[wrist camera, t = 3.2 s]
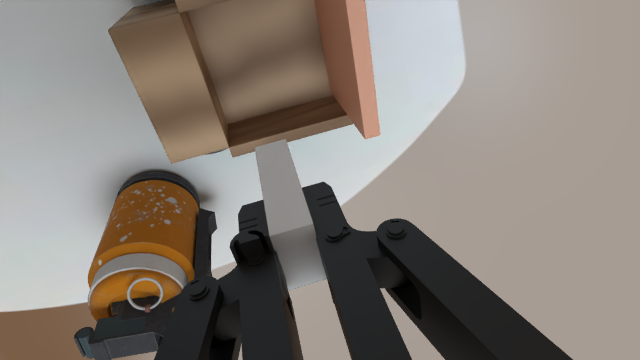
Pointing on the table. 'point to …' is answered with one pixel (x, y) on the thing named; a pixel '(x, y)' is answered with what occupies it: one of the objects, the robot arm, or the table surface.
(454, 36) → the table surface
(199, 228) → the canister
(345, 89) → the panel
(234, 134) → the truck
